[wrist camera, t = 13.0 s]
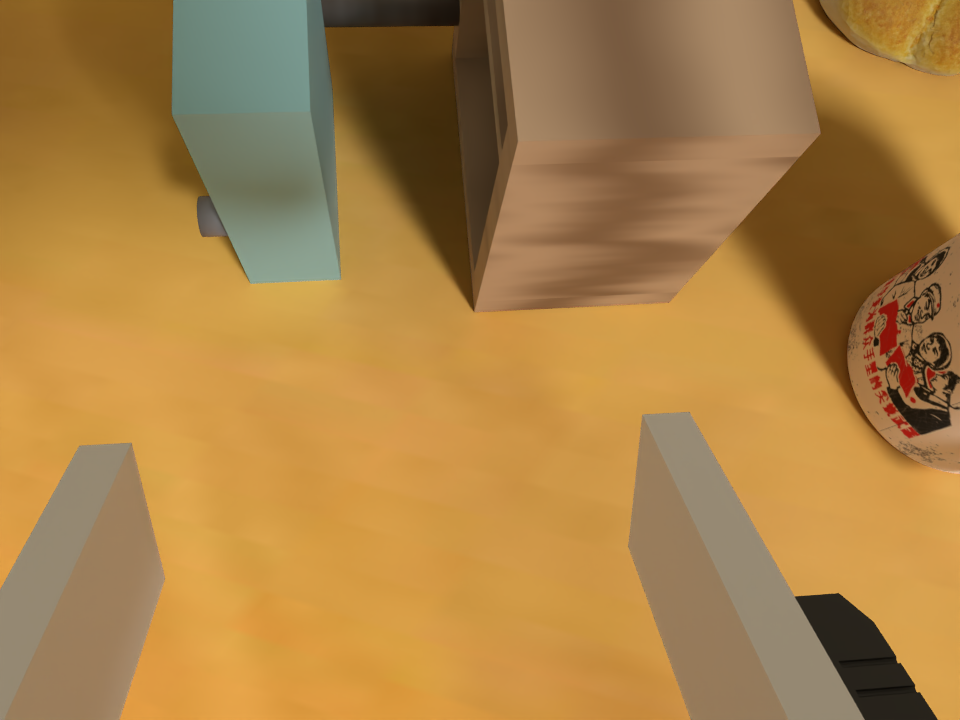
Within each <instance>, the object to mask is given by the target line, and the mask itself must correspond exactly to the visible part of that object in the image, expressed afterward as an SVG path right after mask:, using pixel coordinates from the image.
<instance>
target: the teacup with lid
mask: <svg viewBox="0 0 960 720" xmlns="http://www.w3.org/2000/svg"><path fill="white" fill-rule="evenodd" d="M847 359H848V370H849V376H850V380H851V384H852V387H853V390H854V393H855V395H856V398H857V400H858V402H859V404H860V406H861V408H862V410H863V411H864V413H865V415H866V416H867V418H868V419H869V421H870V422H871V424H872V425H873V426H874V427H875V429H876V430H877V431H878V432H879V433H880V434H881V435H882V436H883V437H884V438H885V439H886V440H887V441H888V442H889V443H890V444H891V445H892V446H894V447H895V448H896V449H898V450H899V451H900V452H902V453H903V454H905V455H906V456H908V457H910V458H911V459H913V460H915V461H917V462H919V463H921V464H923V465H926V466H928V467H931V468H934V469H937V470H941V471H945V472H950V473H957V474H960V233H959V234H958V235H956V236H955V237H953V238H952V239H950V240H949V241H947V242H946V243H944V244H943V245H941V246H940V247H938V248H936V249H935V250H933V251H932V252H930V253H929V254H927V255H926V256H924V257H923V258H921V259H920V260H918V261H917V262H915V263H914V264H912V265H911V266H909V267H908V268H906V269H905V270H903V271H902V272H900V273H899V274H897V275H896V276H894V277H893V278H891V279H889V280H888V281H886V282H885V283H884V284H882V285H881V286H879V287H878V288H877V289H876V290H875V291H874V292H873V293H872V294H871V295H870V296H869V297H868V298H867V299H866V300H865V302H864V303H863V304H862V306H861V307H860V309H859V311H858V313H857V315H856V317H855V319H854V322H853V324H852V327H851V331H850V335H849V340H848V350H847Z"/></svg>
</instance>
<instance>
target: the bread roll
mask: <svg viewBox="0 0 960 720" xmlns="http://www.w3.org/2000/svg"><path fill="white" fill-rule="evenodd" d="M820 4H821V6H822V8H823V9H824V11H825V13H826V14H827V16H828V17H829V18H830V20H831V21H832V22H833V23H834V24H835V25H836V27H837V28H838V29H839V30H840V31H841V32H842V33H843V34H844V35H845V36H846V37H847V38H848V39H849V40H850V41H851V42H852V43H853V44H855V45H856V46H858V47H859V48H861V49H863V50H865V51H868V52H870V53H872V54H874V55H877V56H880V57H883V58H887V59H890V60H892V61H899V62H903V63H905V64H906V65H907V66H909V67H911V68H913V69H916V70H919V71H922V72H926V73H930V74H934V75H942V76H953V75H956V74H959V73H960V0H820Z"/></svg>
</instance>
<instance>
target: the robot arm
mask: <svg viewBox="0 0 960 720" xmlns="http://www.w3.org/2000/svg"><path fill="white" fill-rule="evenodd" d="M628 547H629V550H630V553H631V555H632V558H633V561H634V564H635V566H636V569H637V572H638V575H639V578H640V580H641V583H642V586H643V589H644V591H645V594H646V597H647V600H648V602H649V605H650V608H651V611H652V613H653V616H654V619H655V622H656V624H657V627H658V630H659V633H660V636H661V638H662V641H663V644H664V647H665V649H666V652H667V655H668V658H669V660H670V663H671V666H672V669H673V671H674V674H675V677H676V680H677V682H678V685H679V688H680V691H681V694H682V696H683V699H684V702H685V705H686V707H687V710H688V713H689V716H690V718H691V720H938V719H937V718H936V716H935V715H934V713H933V712H932V710H931V709H930V707H929V706H928V704H927V702H926V701H925V699H924V698H923V696H922V695H921V693H920V692H918V693H917V692H916V690H915V684H914V683H913V681H912V680H911V678H910V677H909V675H908V674H907V672H906V671H905V669H904V667H903V666H902V664H901V663H897V661H896V655H895V654H894V652H893V651H892V649H891V648H890V646H889V645H888V643H887V642H886V640H885V639H884V637H883V636H882V634H881V633H880V631H879V629H878V628H877V626H876V625H875V623H874V622H873V621H872V620H871V619H869V618H868V617H867V616H866V615H865V614H863V613H862V612H861V611H860V610H858V609H857V608H856V607H855V606H854V605H852V604H851V603H850V602H849V601H848V600H846V599H845V598H844V597H843V596H841V595H840V594H839V593H837V594H823V595H810V596H796V597H794V595H793V593H792V591H791V590H790V588H789V586H788V584H787V583H786V581H785V579H784V577H783V576H782V574H781V572H780V570H779V569H778V567H777V565H776V563H775V562H774V560H773V558H772V556H771V555H770V553H769V551H768V549H767V548H766V546H765V544H764V542H763V540H762V539H761V537H760V535H759V533H758V532H757V530H756V528H755V526H754V525H753V523H752V521H751V519H750V518H749V516H748V514H747V512H746V511H745V509H744V507H743V505H742V504H741V502H740V500H739V498H738V497H737V495H736V493H735V491H734V490H733V488H732V486H731V484H730V483H729V481H728V479H727V477H726V476H725V474H724V472H723V470H722V469H721V467H720V465H719V463H718V462H717V460H716V458H715V456H714V455H713V453H712V451H711V449H710V447H709V446H708V444H707V442H706V440H705V439H704V437H703V435H702V433H701V432H700V430H699V428H698V426H697V425H696V423H695V421H694V419H693V418H692V416H691V414H690V412H681V413H663V414H645V415H642V424H641V433H640V442H639V452H638V461H637V470H636V480H635V489H634V498H633V508H632V517H631V526H630V536H629V545H628ZM164 580H165V576H164V572H163V568H162V564H161V560H160V556H159V551H158V547H157V543H156V539H155V535H154V531H153V527H152V523H151V519H150V515H149V511H148V507H147V503H146V499H145V495H144V491H143V487H142V483H141V479H140V475H139V471H138V467H137V463H136V459H135V455H134V451H133V447H132V443H121V444H103V445H85V446H79V448H78V449H77V451H76V453H75V455H74V457H73V458H72V460H71V462H70V464H69V466H68V468H67V469H66V471H65V473H64V475H63V477H62V478H61V480H60V482H59V484H58V486H57V487H56V489H55V491H54V493H53V495H52V497H51V498H50V500H49V502H48V504H47V506H46V507H45V509H44V511H43V513H42V515H41V517H40V518H39V520H38V522H37V524H36V526H35V527H34V529H33V531H32V533H31V535H30V537H29V538H28V540H27V542H26V544H25V546H24V547H23V549H22V551H21V553H20V555H19V556H18V558H17V560H16V562H15V564H14V566H13V567H12V569H11V571H10V573H9V575H8V576H7V578H6V580H5V582H4V584H3V586H2V587H1V589H0V720H120V717H121V714H122V710H123V707H124V704H125V701H126V698H127V695H128V692H129V689H130V686H131V682H132V679H133V676H134V673H135V670H136V667H137V664H138V661H139V658H140V655H141V651H142V648H143V645H144V642H145V639H146V636H147V633H148V630H149V627H150V623H151V620H152V617H153V614H154V611H155V608H156V605H157V602H158V599H159V596H160V592H161V589H162V586H163V583H164Z"/></svg>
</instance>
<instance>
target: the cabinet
mask: <svg viewBox="0 0 960 720" xmlns="http://www.w3.org/2000/svg"><path fill="white" fill-rule="evenodd" d="M321 5H322V13H323V21H324V27H396V26H454V35H453V45H452V59H453V70H454V82H455V94H456V105H457V117H458V129H459V140H460V152H461V164H462V175H463V187H464V199H465V210H466V222H467V234H468V245H469V257H470V268H471V280H472V292H473V303H474V312H487V311H507V310H528V309H548V308H569V307H589V306H609V305H630V304H650V303H669V302H670V301H671V300H672V299H673V298H674V297H675V295H676V294H677V293H678V292H679V291H680V290H681V289H682V288H683V287H684V285H685V284H686V283H687V282H688V281H689V280H690V279H691V278H692V276H693V275H694V274H695V273H696V272H697V271H698V270H699V269H700V268H701V266H702V265H703V264H704V263H705V262H706V261H707V260H708V259H709V258H710V256H711V255H712V254H713V253H714V252H715V251H716V250H717V249H718V248H719V246H720V245H721V244H722V243H723V242H724V241H725V240H726V239H727V237H728V236H729V235H730V234H731V233H732V232H733V231H734V230H735V229H736V227H737V226H738V225H739V224H740V223H741V222H742V221H743V220H744V219H745V217H746V216H747V215H748V214H749V213H750V212H751V211H752V210H753V208H754V207H755V206H756V205H757V204H758V203H759V202H760V201H761V200H762V198H763V197H764V196H765V195H766V194H767V193H768V192H769V191H770V190H771V188H772V187H773V186H774V185H775V184H776V183H777V182H778V181H779V180H780V178H781V177H782V176H783V175H784V174H785V173H786V172H787V171H788V169H789V168H790V167H791V166H792V165H793V164H794V163H795V162H796V161H797V159H798V158H799V157H800V156H801V155H802V154H803V153H804V152H805V151H806V149H807V148H808V147H809V146H810V145H811V144H812V143H813V142H814V141H815V139H816V138H817V137H818V136H819V135H820V134H821V131H820V127H819V122H818V117H817V113H816V108H815V103H814V99H813V94H812V89H811V85H810V80H809V75H808V71H807V66H806V61H805V57H804V52H803V47H802V43H801V38H800V33H799V29H798V24H797V19H796V15H795V10H794V6H793V1H792V0H321Z"/></svg>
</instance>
